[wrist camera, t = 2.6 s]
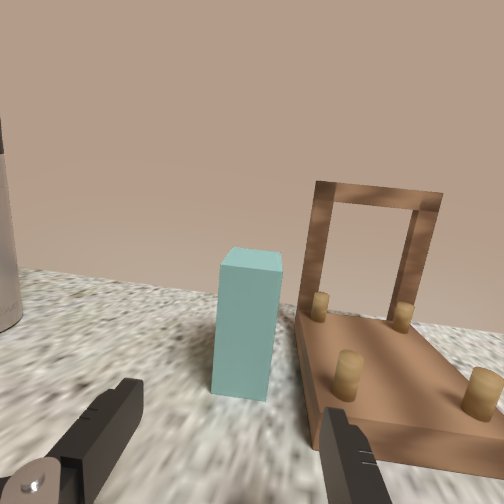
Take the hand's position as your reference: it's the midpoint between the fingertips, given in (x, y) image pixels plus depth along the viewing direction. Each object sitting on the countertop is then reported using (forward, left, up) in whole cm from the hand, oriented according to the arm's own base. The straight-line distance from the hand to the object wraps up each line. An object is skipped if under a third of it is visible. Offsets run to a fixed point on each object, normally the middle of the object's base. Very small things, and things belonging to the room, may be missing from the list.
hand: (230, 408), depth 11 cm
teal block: (0, +11, -7) cm, 13 cm away
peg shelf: (+12, +12, -7) cm, 18 cm away
